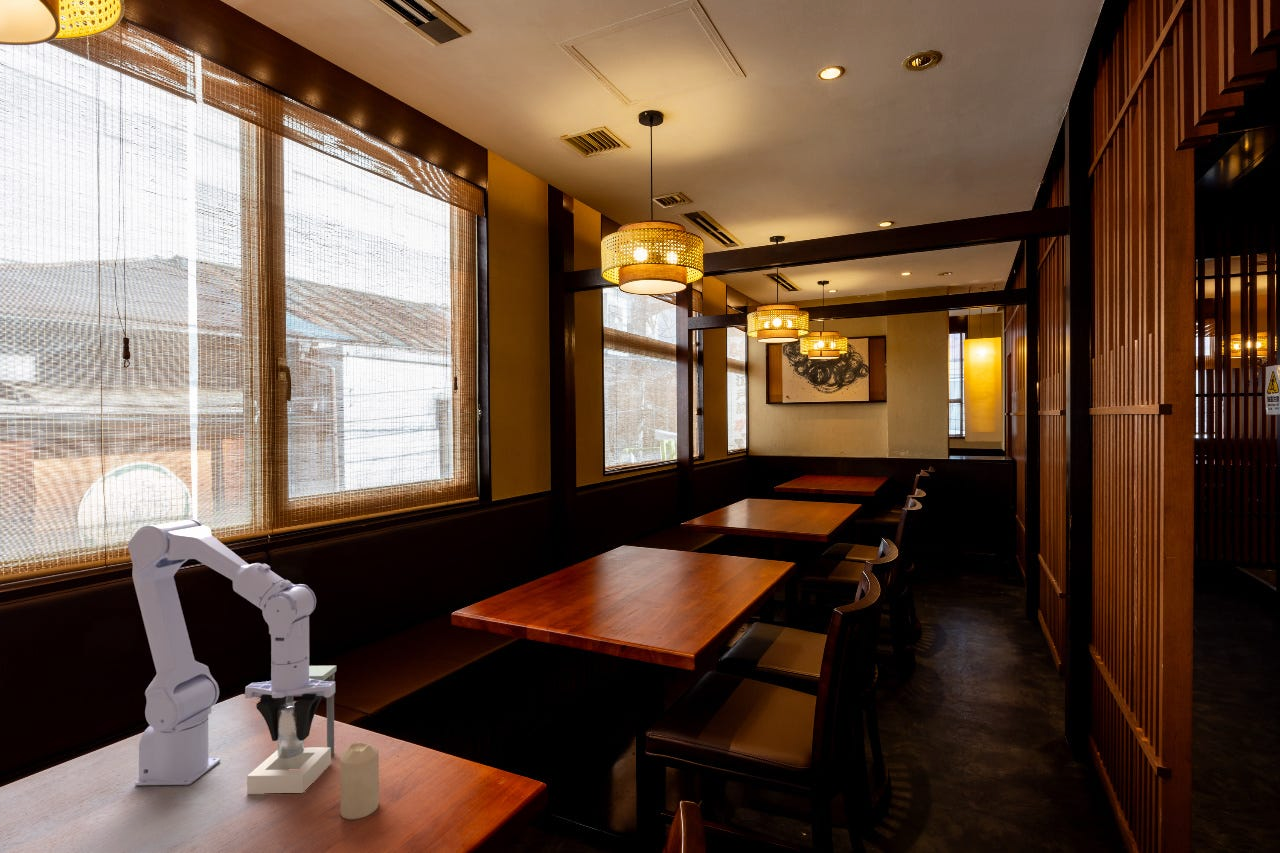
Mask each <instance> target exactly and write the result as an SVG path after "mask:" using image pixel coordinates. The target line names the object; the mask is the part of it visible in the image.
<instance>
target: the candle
mask: <svg viewBox="0 0 1280 853" xmlns="http://www.w3.org/2000/svg"><path fill="white" fill-rule="evenodd" d="M379 759H380V758H379V749H378V748H377V747H376V746H374V745H372V744H370V743H364V742H357V743H351V744H350V745H349V747H348V748H347V749H346V750H345V751H344V752H343V754H342V755H341V756H340V759H339V761H340V762H339V764H340V765H339V768H340V769H339V770H340V771H339V772H340V775H339V776H340V781H339V782H340V783H339V786H340V788H339V790H340V792H339V796H340V797H339V798H340V800H339V803H340V814H341V817H342V818H343V819H345V820H359V819H362V818H365V817H368V816H370V815H372V814H373V813H374V812H376V810H377V809H378V807H379V805H380V804H379V802H380V801H379V800H380V797H379V795H380V790H379V788H380V785H379V784H380V782H379V780H380V779H379V776H380V775H379V774H380V773H379V772H380V769H379V768H380V766H379V763H380V762H379V761H380V760H379Z"/></svg>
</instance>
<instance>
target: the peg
mask: <svg viewBox="0 0 1280 853" xmlns="http://www.w3.org/2000/svg"><path fill="white" fill-rule="evenodd" d="M297 701H298V700H293V701H292V702H287V703H286V702H285V703H284V704H282V705H280V706H279V707H278V708H277V713H278V740H277V750H278V757H279V758H282V759H287V758H292V757H295V756H298V755H300V754H301V753H303V752H304V748H305V739H304V740H303V741H299V738H298V718H297V713H296V709H295V707H294V703H295V702H297Z"/></svg>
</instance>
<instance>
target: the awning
mask: <svg viewBox="0 0 1280 853" xmlns="http://www.w3.org/2000/svg"><path fill="white" fill-rule="evenodd" d="M336 672H337V665H309V679H315V680H321V681H328V682H335V679H336V678H335V676H336V674H335V673H336ZM292 701H294V696H286V701H285V703H287V702H292ZM326 747H331V756H333V755H335V693H334V694H333V695H332V696H331V697H326Z"/></svg>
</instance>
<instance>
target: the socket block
mask: <svg viewBox="0 0 1280 853" xmlns="http://www.w3.org/2000/svg"><path fill="white" fill-rule="evenodd" d="M331 764H332V755H331V747H327V746H325V747H323V746H322V747H321V746H317V747H314V746H313V747H312V746H311V747H310V746H309V747H304V752H303V753H301V754H300V755H298V756H295V757H292V758H287V759H282V758H279V757H278V749H276V750H275V751H274V752H273V753H272V754H271V755H270V756H268V757H266V759H265V760H264V761H263V762H261V763H260V764H259V765H258V766H257V767H256V768H254V769H253V770H252V771H251V772H250V773H248V774H247V776H246V794H247V795H265V794H264V793H303V792H304V791H305V790H306V789H307V788H308V787H309V786H310V785H311V784H312V783H313V784H314V782H316V780H317V779H318V778H319V777H321V775H322V774H324V772H325V771H326V770H327V769H328V768H329V767H330V766H331ZM328 766H329V767H328ZM289 769H298V770H289ZM324 770H325V771H324ZM313 784H312V785H313ZM312 785H311V786H312ZM309 788H310V787H309ZM309 788H308V789H309ZM308 789H307V790H308ZM307 790H306V791H307ZM306 791H305V792H306ZM305 792H304V793H305ZM304 793H303V794H304Z"/></svg>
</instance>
